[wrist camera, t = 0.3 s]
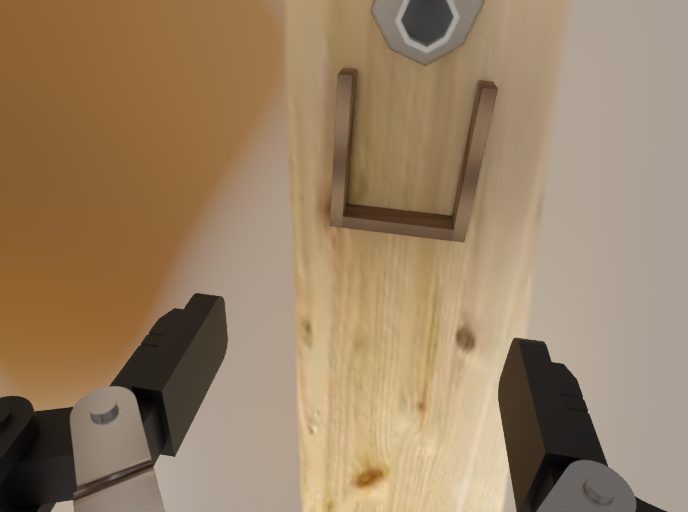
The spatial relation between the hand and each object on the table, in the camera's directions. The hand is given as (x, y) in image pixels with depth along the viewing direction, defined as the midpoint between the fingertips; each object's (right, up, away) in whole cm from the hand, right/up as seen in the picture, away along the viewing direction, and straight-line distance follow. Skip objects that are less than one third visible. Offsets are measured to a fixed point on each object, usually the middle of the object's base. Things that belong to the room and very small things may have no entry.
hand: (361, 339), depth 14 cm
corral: (+5, +11, +25) cm, 28 cm away
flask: (+5, +20, +20) cm, 29 cm away
